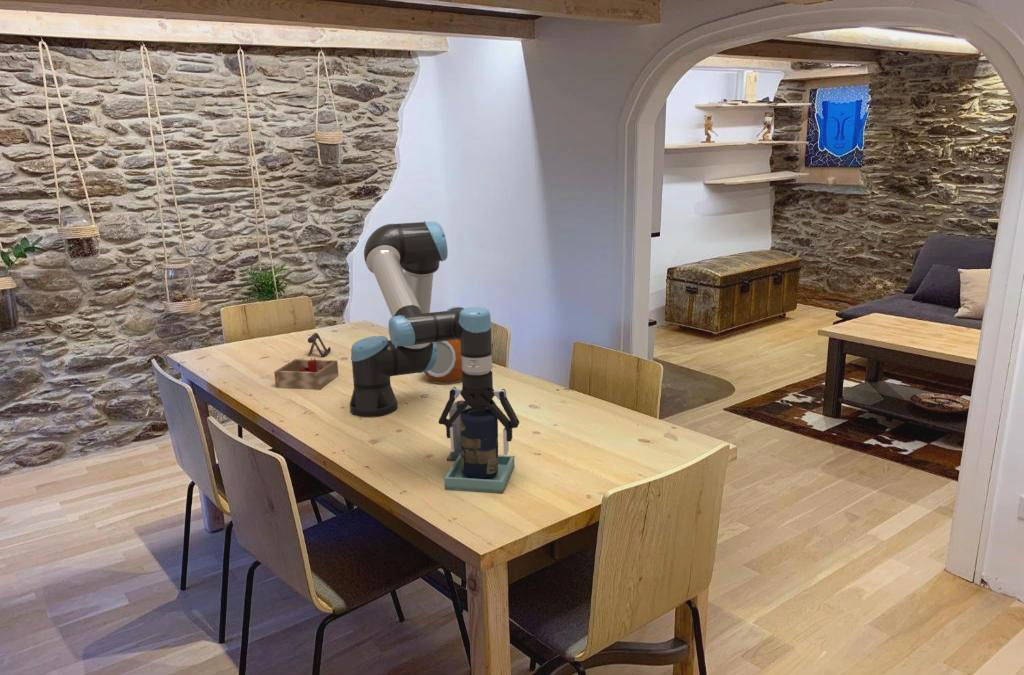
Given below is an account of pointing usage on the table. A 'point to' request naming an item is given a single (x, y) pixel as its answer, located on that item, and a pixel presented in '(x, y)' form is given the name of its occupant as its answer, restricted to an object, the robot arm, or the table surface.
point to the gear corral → (306, 375)
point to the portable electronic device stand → (313, 341)
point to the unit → (457, 451)
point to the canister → (479, 443)
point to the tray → (493, 484)
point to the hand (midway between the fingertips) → (479, 451)
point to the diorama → (310, 367)
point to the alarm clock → (447, 363)
